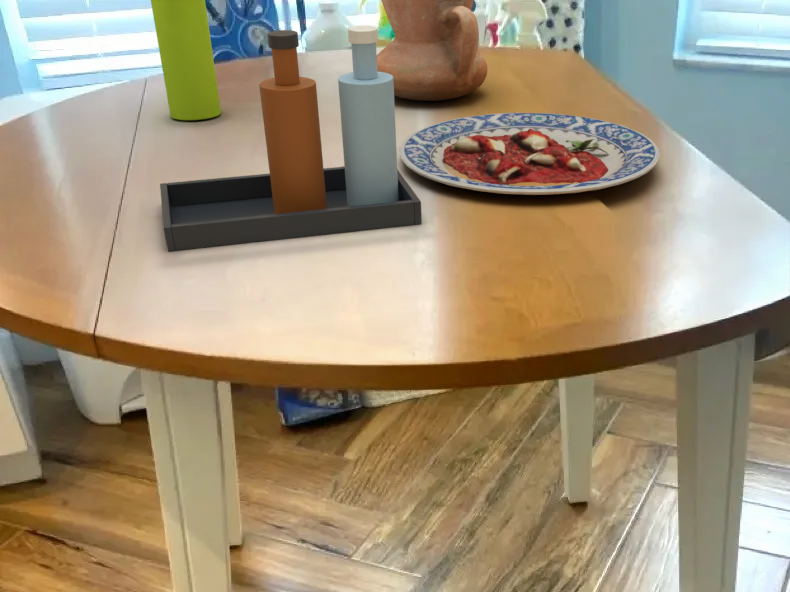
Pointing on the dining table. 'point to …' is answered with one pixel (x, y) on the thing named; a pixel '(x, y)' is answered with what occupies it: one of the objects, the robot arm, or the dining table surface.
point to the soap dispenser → (186, 58)
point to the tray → (270, 212)
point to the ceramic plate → (529, 153)
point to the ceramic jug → (432, 49)
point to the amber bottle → (292, 130)
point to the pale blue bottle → (368, 124)
